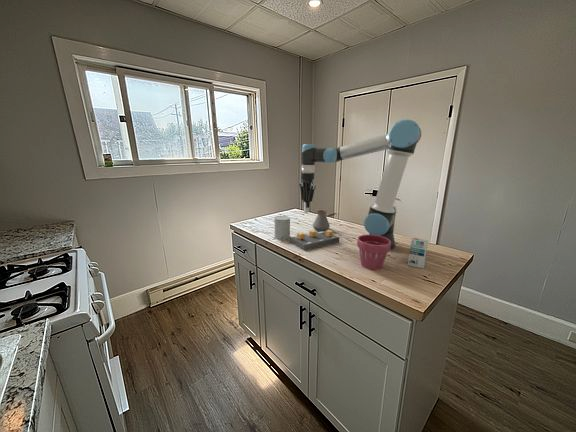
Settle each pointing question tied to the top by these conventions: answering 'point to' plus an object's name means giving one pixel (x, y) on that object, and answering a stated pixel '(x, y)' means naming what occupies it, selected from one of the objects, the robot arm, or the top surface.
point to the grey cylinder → (282, 227)
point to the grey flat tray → (314, 240)
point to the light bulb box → (418, 252)
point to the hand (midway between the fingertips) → (306, 212)
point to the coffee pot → (321, 221)
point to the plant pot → (373, 250)
